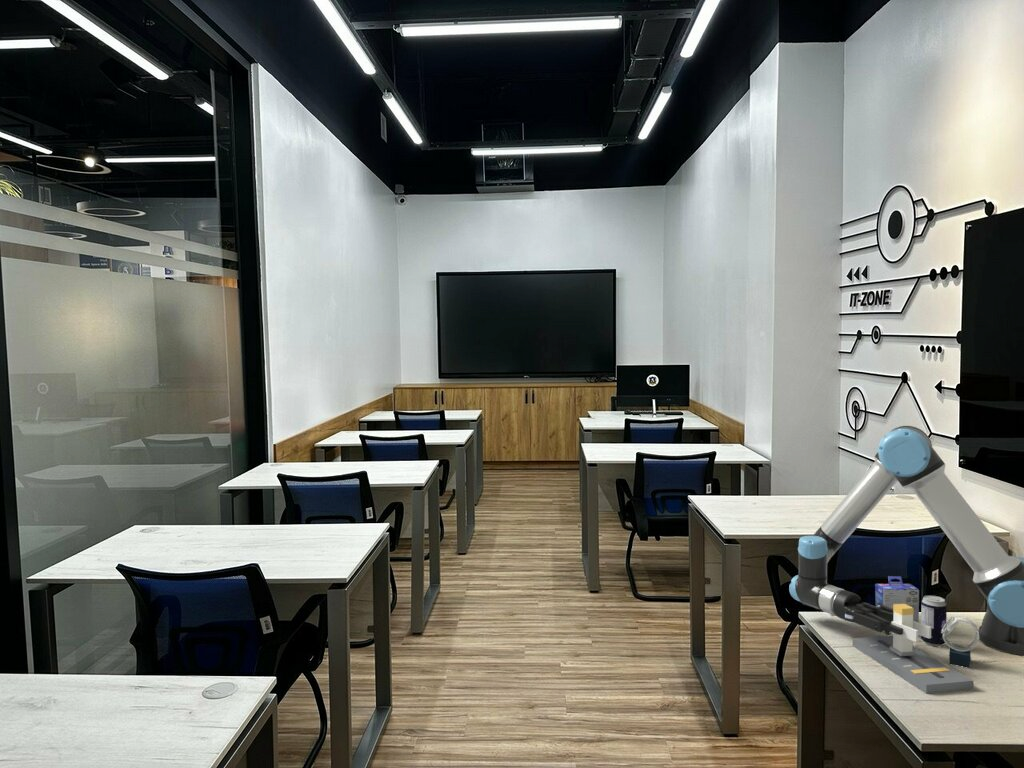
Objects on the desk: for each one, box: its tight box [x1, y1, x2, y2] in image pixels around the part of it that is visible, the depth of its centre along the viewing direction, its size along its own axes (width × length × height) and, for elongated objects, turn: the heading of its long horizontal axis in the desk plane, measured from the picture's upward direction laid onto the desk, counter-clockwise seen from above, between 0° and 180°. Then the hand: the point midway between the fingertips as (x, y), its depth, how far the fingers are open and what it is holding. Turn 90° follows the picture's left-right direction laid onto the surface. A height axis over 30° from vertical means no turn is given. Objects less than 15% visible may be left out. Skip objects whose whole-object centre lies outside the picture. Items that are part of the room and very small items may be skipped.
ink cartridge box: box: [874, 575, 920, 633], centre depth 192 cm, size 10×6×14 cm, turn 87°
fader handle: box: [890, 604, 916, 656], centre depth 171 cm, size 4×4×12 cm
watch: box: [941, 616, 980, 669], centre depth 171 cm, size 6×8×11 cm
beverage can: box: [920, 594, 948, 648], centre depth 182 cm, size 6×6×12 cm
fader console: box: [852, 634, 975, 694], centre depth 169 cm, size 12×26×2 cm, turn 9°
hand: (923, 634), depth 166 cm, fingers open, 4 cm apart
